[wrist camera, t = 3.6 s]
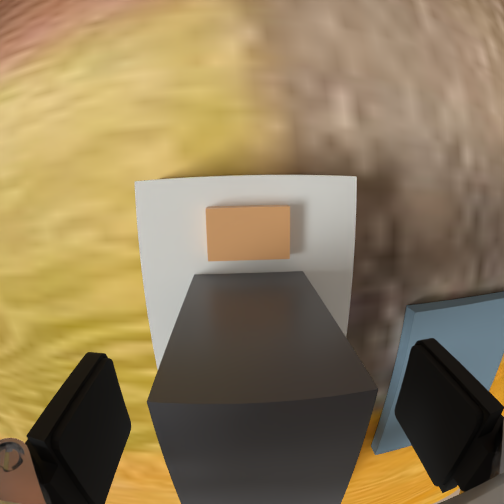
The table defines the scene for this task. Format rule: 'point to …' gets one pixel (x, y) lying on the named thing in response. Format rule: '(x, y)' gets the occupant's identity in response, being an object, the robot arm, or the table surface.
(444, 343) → the mat
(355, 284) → the table surface
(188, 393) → the block
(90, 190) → the table surface
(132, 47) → the table surface
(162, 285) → the power strip
